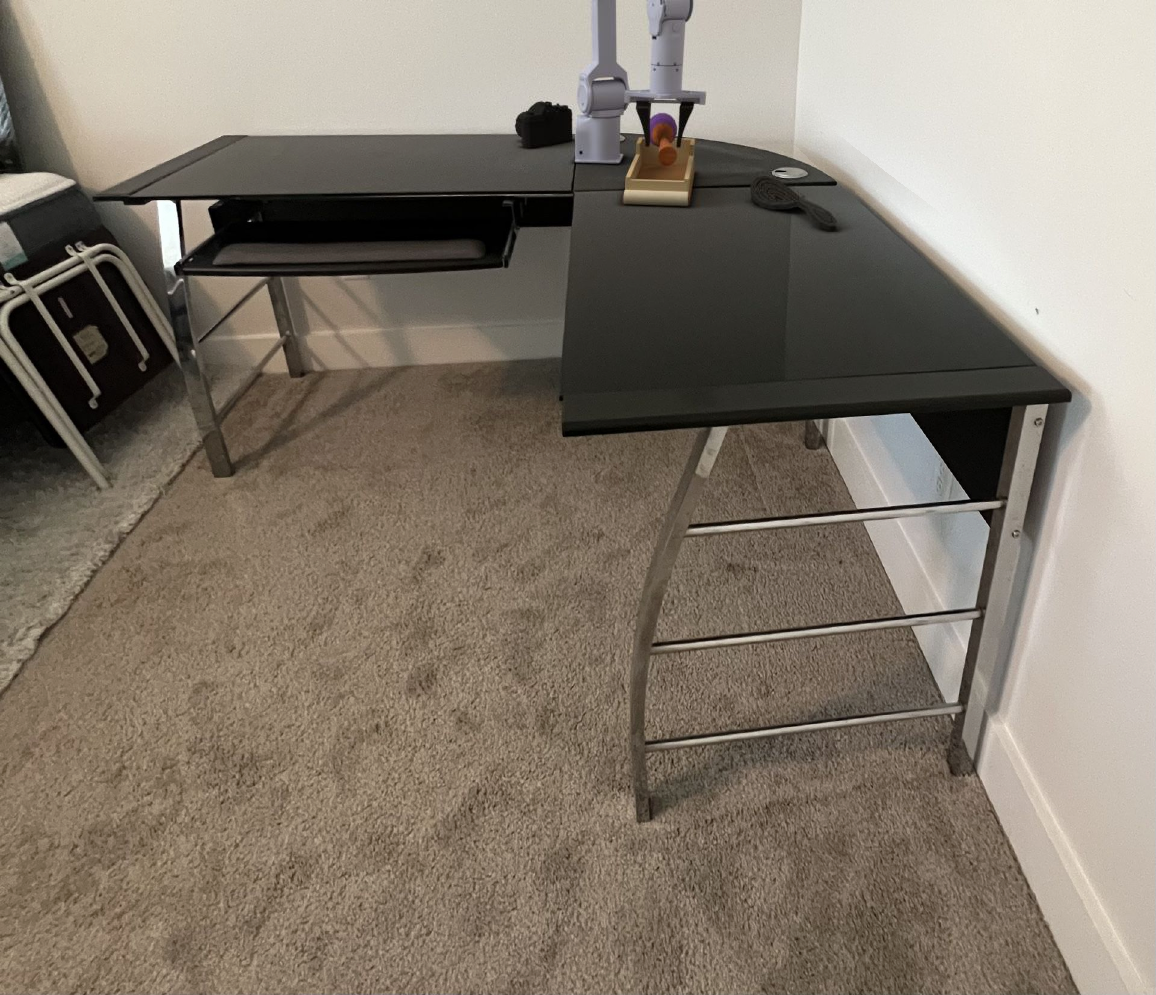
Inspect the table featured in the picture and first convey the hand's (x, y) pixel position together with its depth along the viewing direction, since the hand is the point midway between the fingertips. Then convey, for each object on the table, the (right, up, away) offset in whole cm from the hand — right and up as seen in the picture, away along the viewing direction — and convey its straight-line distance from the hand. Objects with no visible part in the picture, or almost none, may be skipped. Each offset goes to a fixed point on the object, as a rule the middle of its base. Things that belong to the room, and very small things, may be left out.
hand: (662, 146), depth 156 cm
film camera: (-25, +18, +40) cm, 50 cm away
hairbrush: (+22, -16, -10) cm, 29 cm away
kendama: (0, -1, +1) cm, 2 cm away
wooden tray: (0, -6, +4) cm, 7 cm away
